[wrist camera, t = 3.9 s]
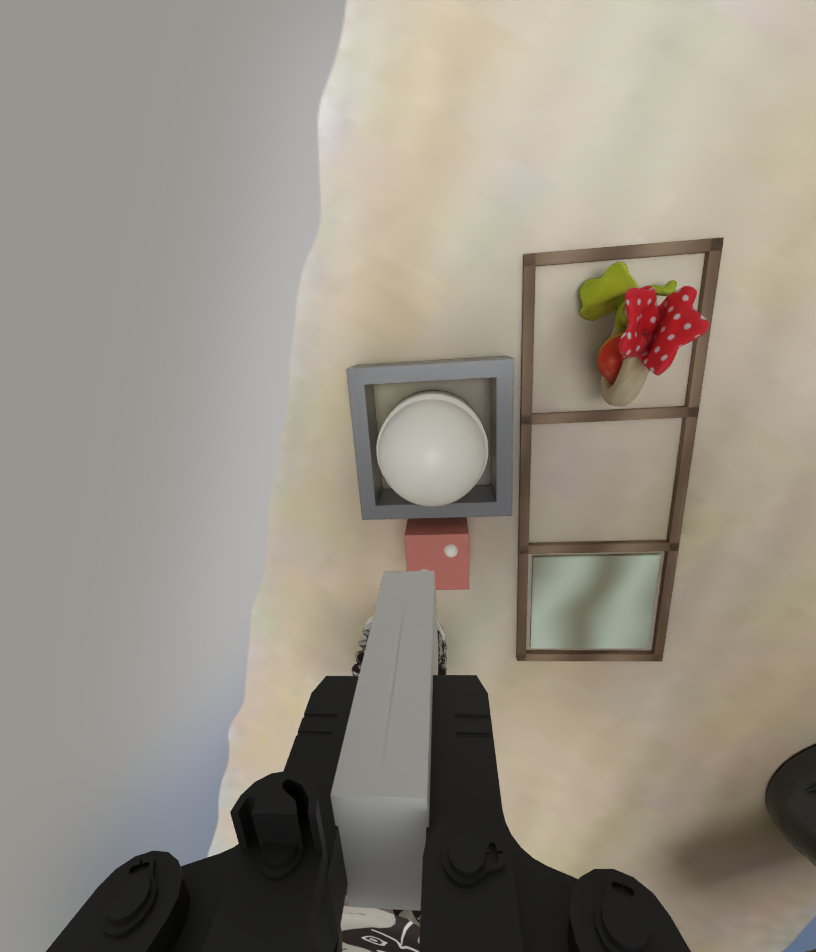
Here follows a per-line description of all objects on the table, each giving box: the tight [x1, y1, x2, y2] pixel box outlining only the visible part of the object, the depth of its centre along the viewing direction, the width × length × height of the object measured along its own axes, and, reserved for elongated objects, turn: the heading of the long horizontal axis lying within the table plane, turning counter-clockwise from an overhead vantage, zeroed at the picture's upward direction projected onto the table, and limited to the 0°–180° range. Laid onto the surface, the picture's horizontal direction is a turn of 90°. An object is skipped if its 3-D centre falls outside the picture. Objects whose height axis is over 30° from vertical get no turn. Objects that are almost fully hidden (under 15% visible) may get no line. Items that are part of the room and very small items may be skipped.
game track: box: [516, 238, 724, 661], centre depth 37 cm, size 14×36×1 cm, turn 4°
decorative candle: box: [341, 614, 447, 952], centre depth 32 cm, size 9×9×25 cm
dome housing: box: [346, 356, 514, 590], centre depth 35 cm, size 12×18×6 cm, turn 4°
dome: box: [376, 390, 488, 507], centre depth 31 cm, size 8×8×8 cm
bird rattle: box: [579, 262, 710, 406], centre depth 29 cm, size 6×11×9 cm
